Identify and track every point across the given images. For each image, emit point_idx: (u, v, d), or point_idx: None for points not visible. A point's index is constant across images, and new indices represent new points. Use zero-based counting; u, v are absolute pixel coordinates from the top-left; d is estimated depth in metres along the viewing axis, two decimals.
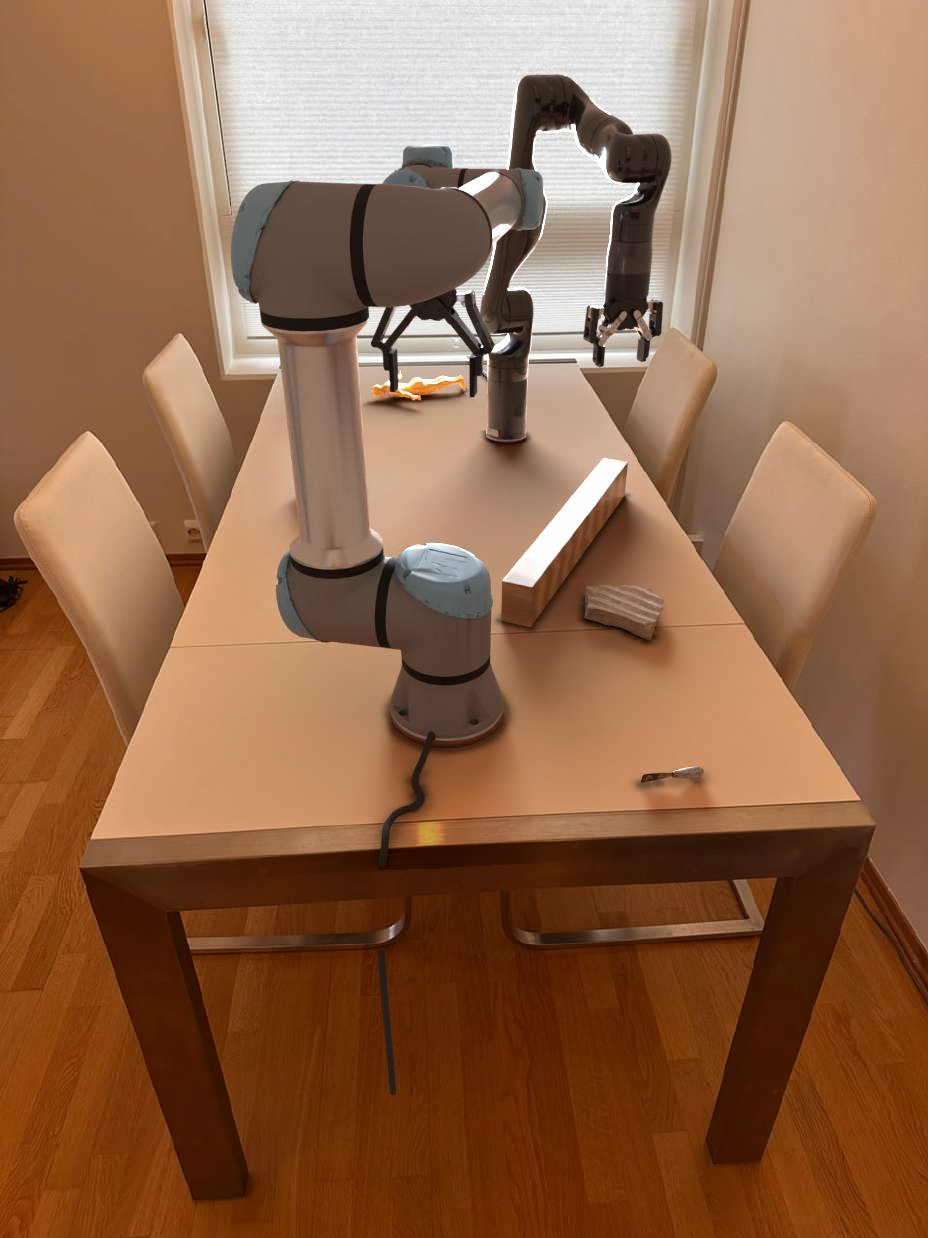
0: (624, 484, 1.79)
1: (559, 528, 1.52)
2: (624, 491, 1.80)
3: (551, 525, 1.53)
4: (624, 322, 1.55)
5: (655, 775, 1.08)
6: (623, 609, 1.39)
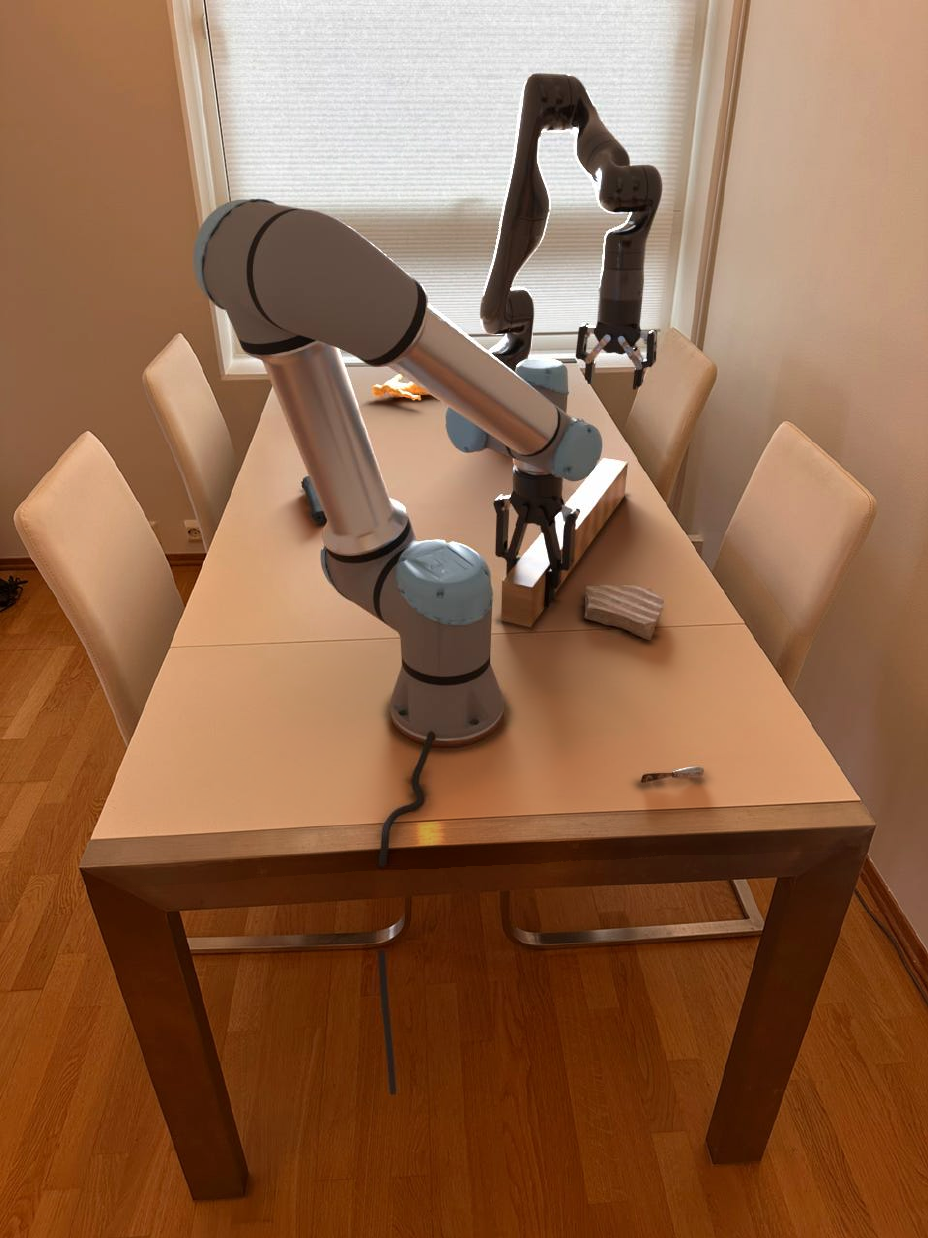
0: (624, 484, 1.79)
1: (559, 528, 1.52)
2: (624, 491, 1.80)
3: None
4: (611, 345, 1.59)
5: (655, 775, 1.08)
6: (623, 609, 1.39)
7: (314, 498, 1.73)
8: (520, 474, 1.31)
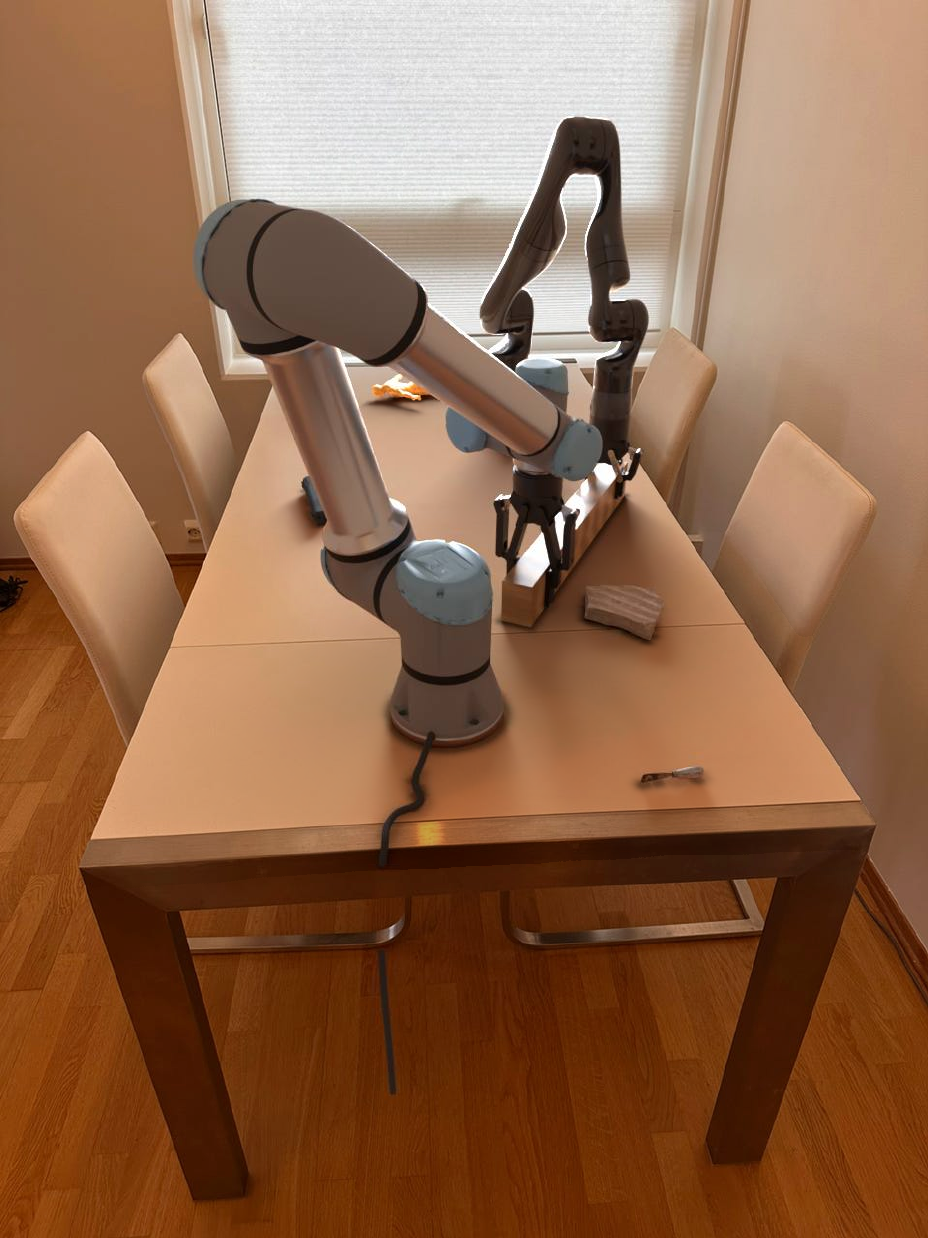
0: None
1: (559, 528, 1.52)
2: (624, 491, 1.80)
3: None
4: (602, 457, 1.70)
5: (655, 775, 1.08)
6: (623, 609, 1.39)
7: (314, 498, 1.73)
8: (520, 474, 1.31)
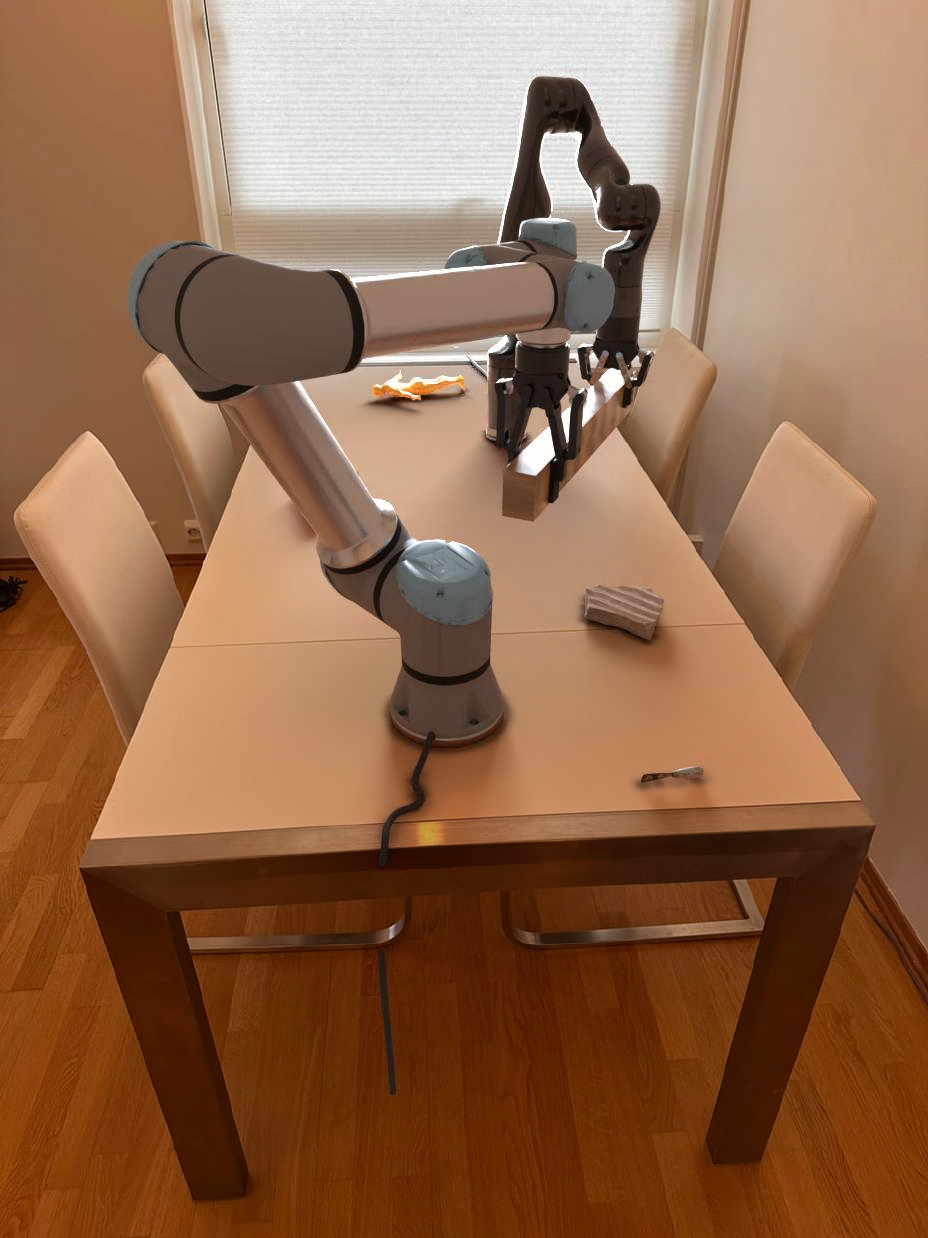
0: (633, 395, 1.69)
1: (564, 426, 1.42)
2: (632, 403, 1.70)
3: None
4: (609, 361, 1.60)
5: (655, 775, 1.08)
6: (623, 609, 1.39)
7: None
8: (524, 348, 1.22)
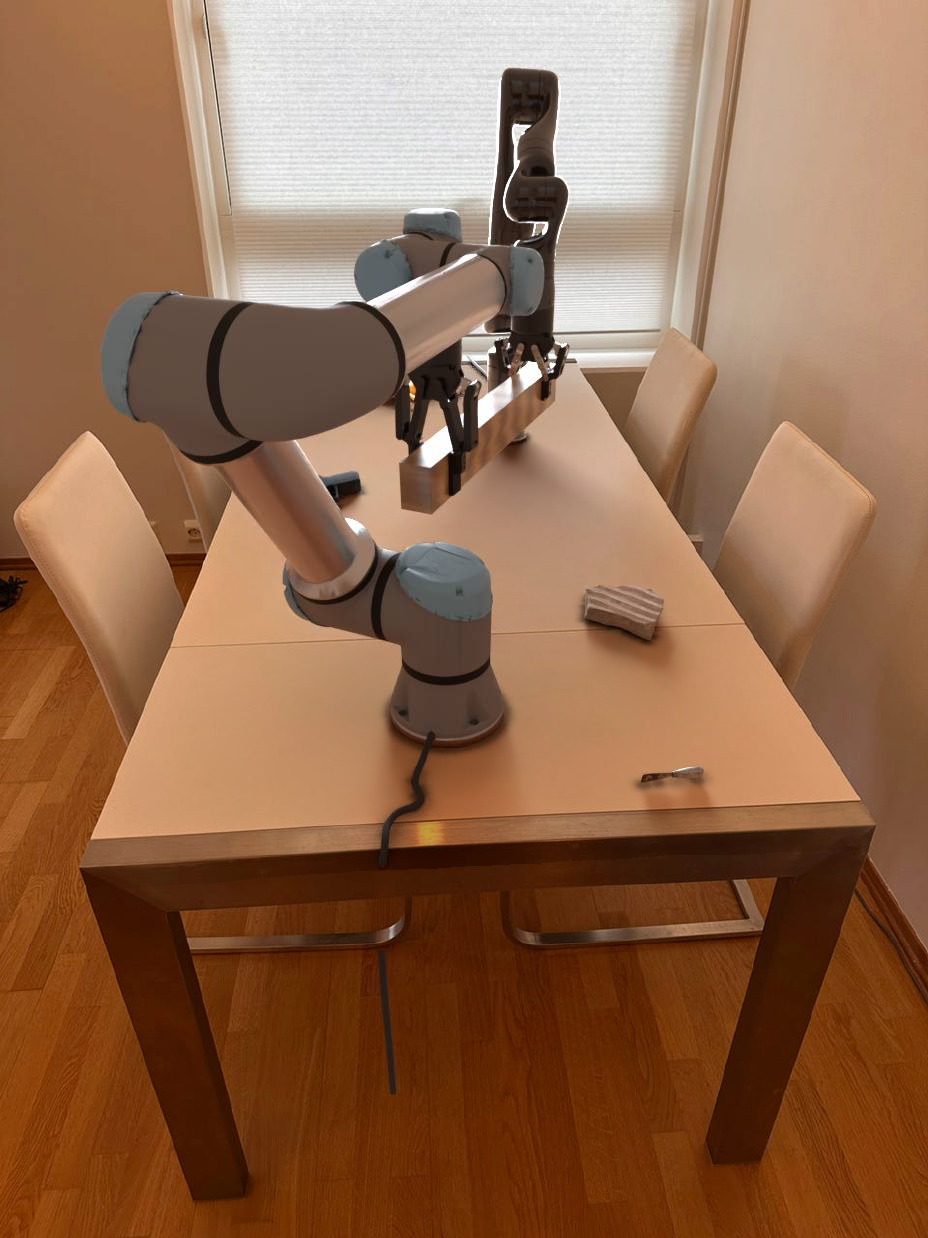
0: (553, 388, 1.68)
1: None
2: (554, 396, 1.70)
3: None
4: (526, 354, 1.60)
5: (655, 775, 1.08)
6: (623, 609, 1.39)
7: None
8: None
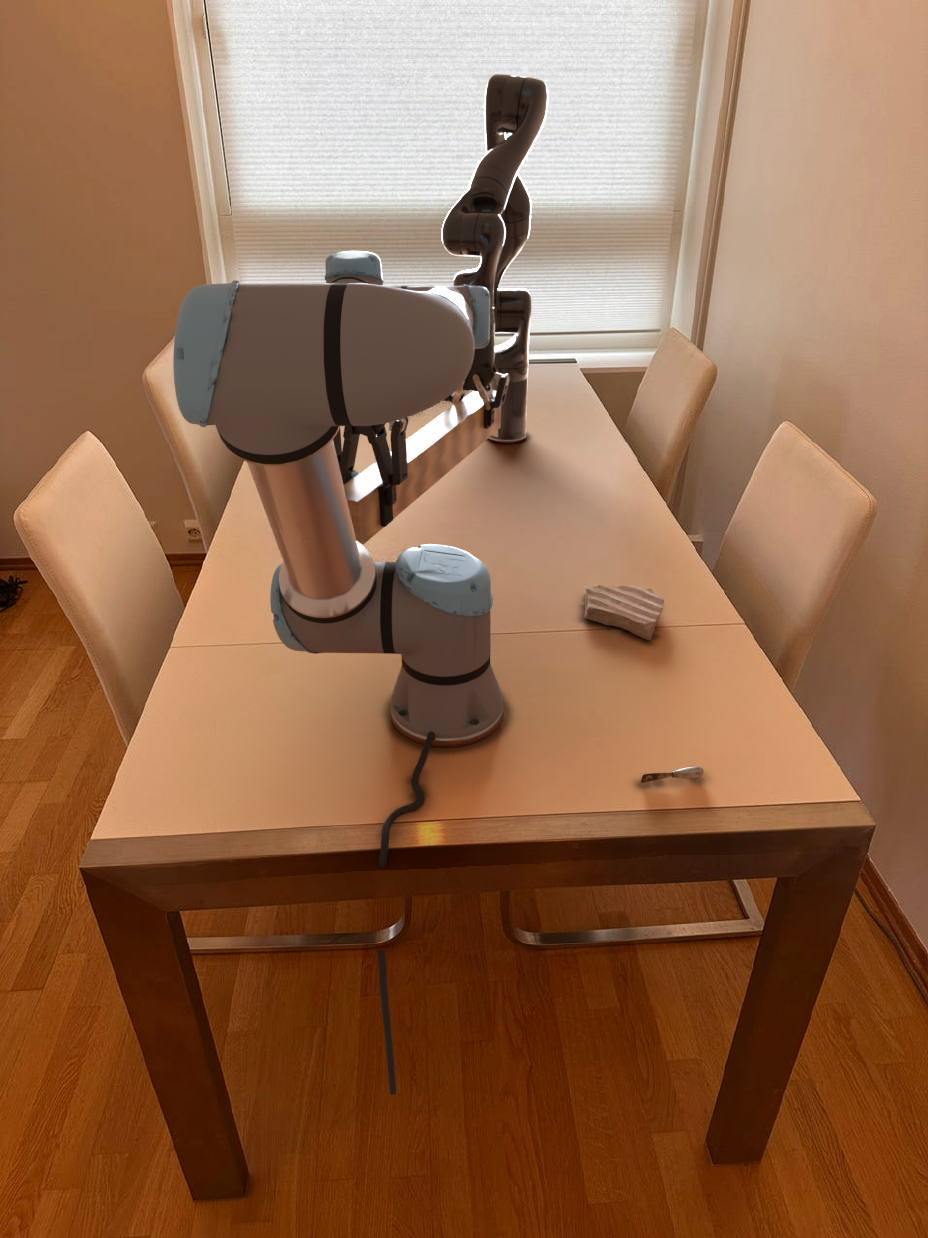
0: (498, 415, 1.71)
1: (406, 449, 1.45)
2: (499, 423, 1.73)
3: None
4: (468, 383, 1.63)
5: (655, 775, 1.08)
6: (623, 609, 1.39)
7: None
8: None
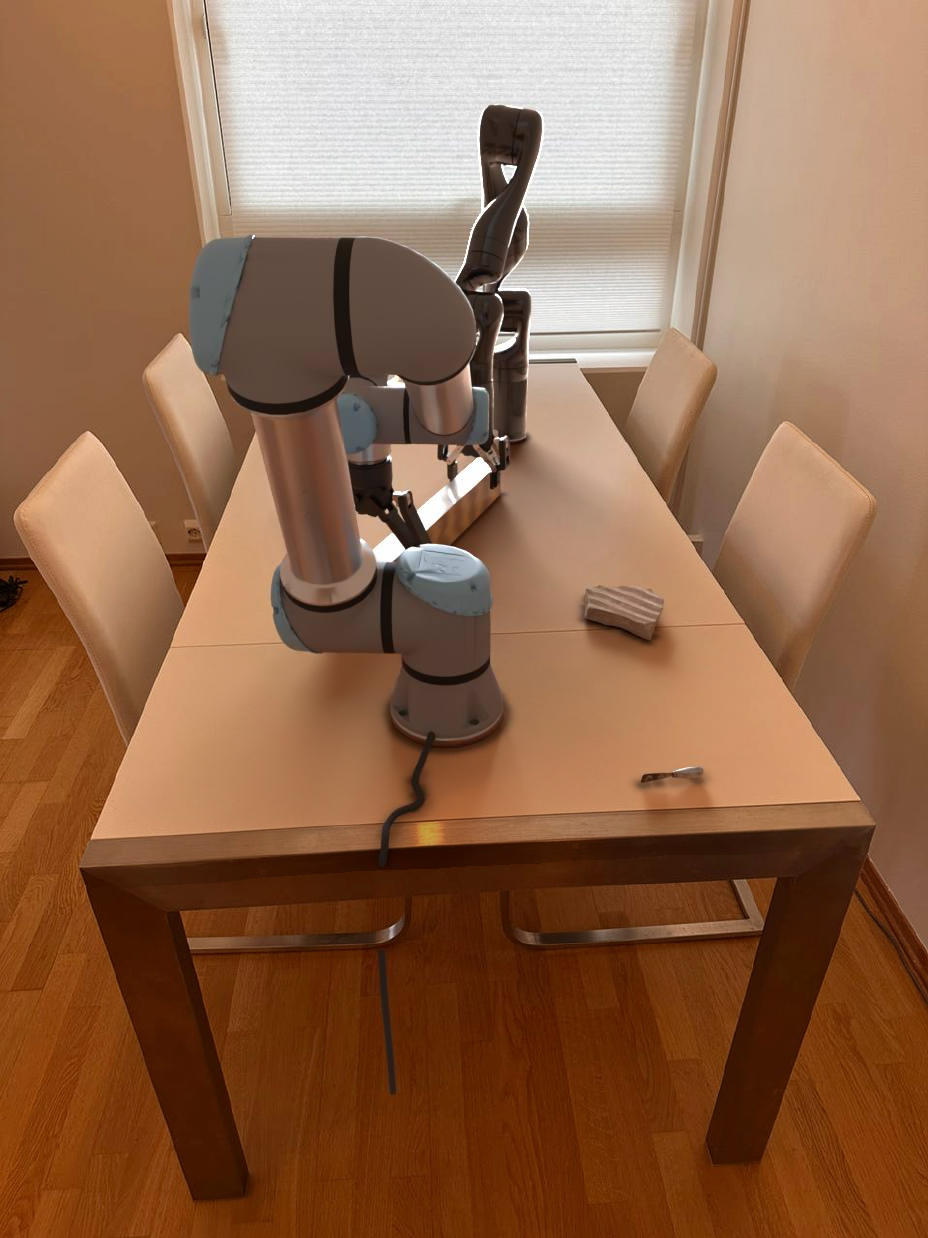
0: None
1: None
2: (499, 490, 1.81)
3: None
4: (468, 449, 1.69)
5: (655, 775, 1.08)
6: (623, 609, 1.39)
7: None
8: None
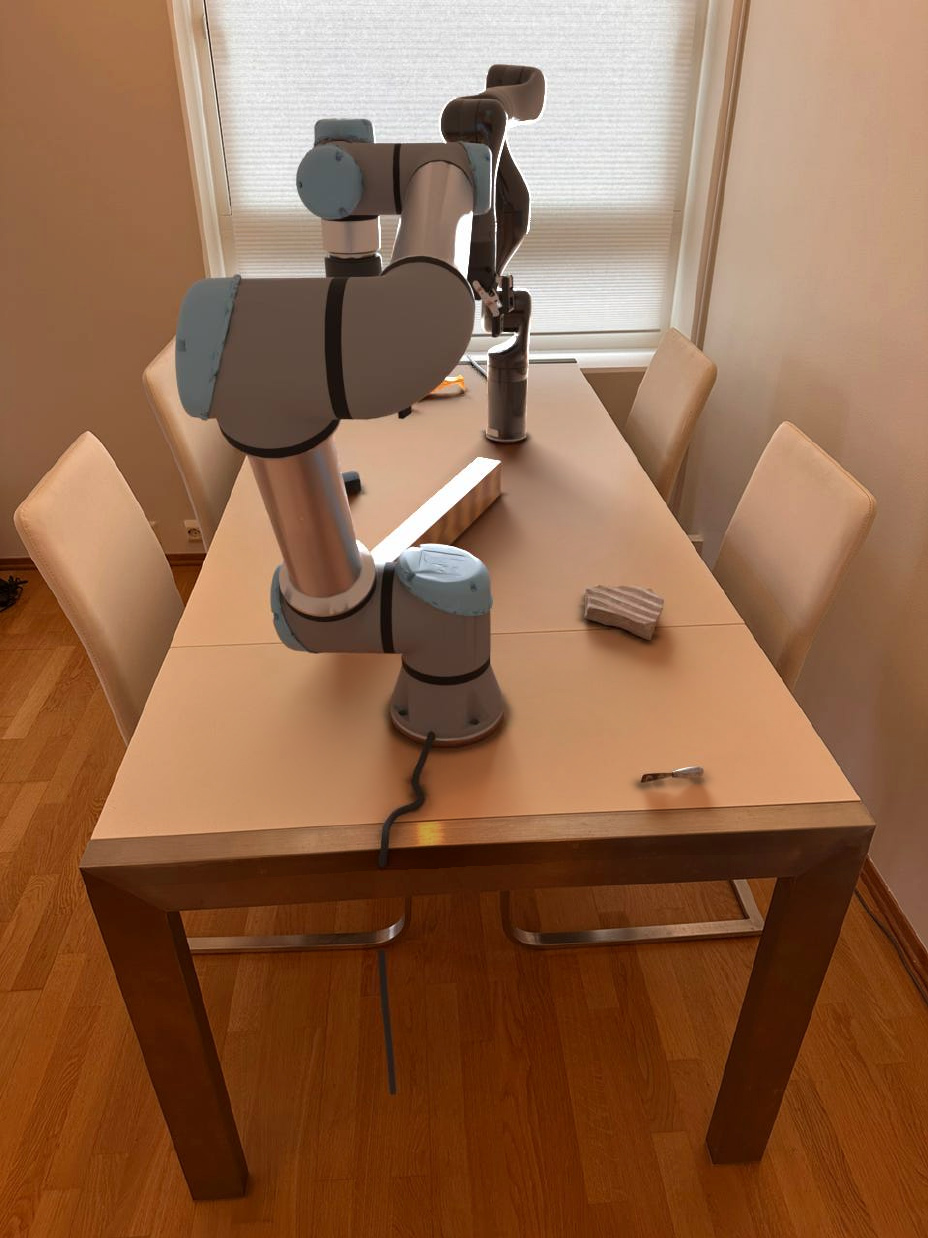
0: (498, 483, 1.79)
1: (411, 527, 1.53)
2: (499, 490, 1.81)
3: (405, 524, 1.54)
4: None
5: (655, 775, 1.08)
6: (623, 609, 1.39)
7: None
8: (329, 259, 1.16)
